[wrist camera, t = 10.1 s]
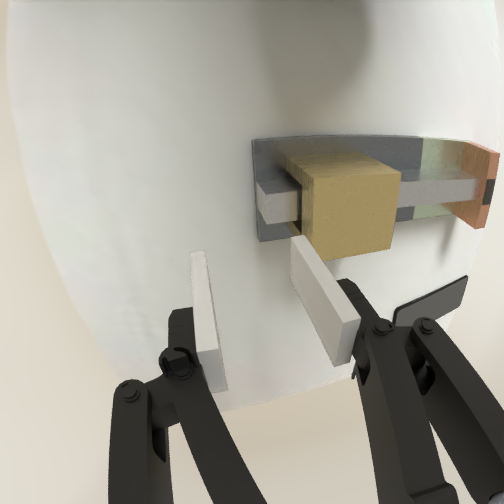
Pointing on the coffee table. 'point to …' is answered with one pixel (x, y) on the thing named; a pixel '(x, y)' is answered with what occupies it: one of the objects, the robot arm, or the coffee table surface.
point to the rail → (393, 155)
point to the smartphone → (431, 304)
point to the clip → (345, 203)
